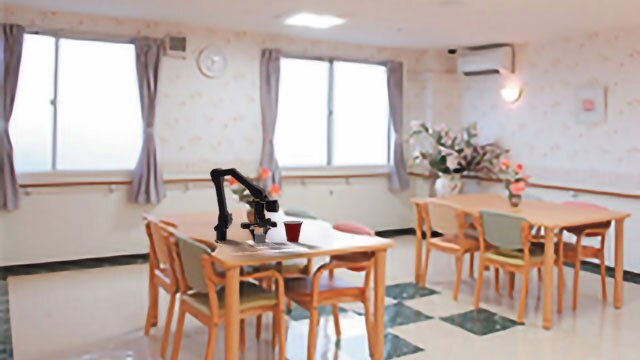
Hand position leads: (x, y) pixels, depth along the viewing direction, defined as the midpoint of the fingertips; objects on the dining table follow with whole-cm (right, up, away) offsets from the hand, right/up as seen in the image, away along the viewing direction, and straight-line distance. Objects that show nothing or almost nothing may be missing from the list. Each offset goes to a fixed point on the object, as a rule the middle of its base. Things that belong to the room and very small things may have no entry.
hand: (258, 241), depth 310 cm
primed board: (+2, -2, -4) cm, 5 cm away
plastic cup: (+18, -2, +5) cm, 18 cm away
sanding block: (0, 0, 0) cm, 0 cm away
